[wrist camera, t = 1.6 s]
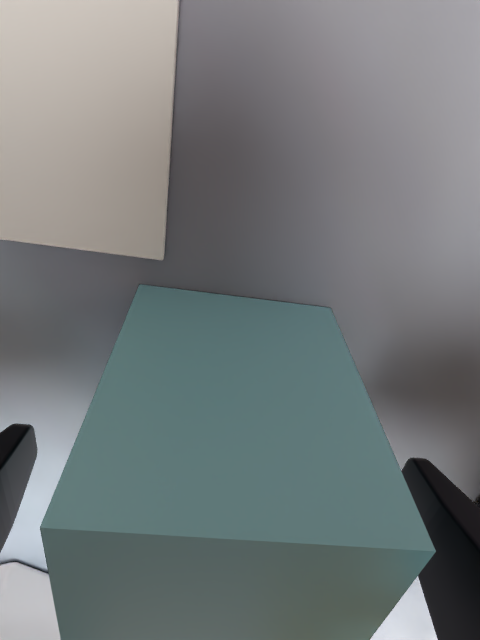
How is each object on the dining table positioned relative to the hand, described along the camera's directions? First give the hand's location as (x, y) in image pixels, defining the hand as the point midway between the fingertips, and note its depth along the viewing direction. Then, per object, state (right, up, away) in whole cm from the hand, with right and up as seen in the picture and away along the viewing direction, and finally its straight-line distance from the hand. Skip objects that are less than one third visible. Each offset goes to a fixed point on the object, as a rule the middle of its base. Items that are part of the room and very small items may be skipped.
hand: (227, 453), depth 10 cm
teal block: (0, +2, +3) cm, 3 cm away
